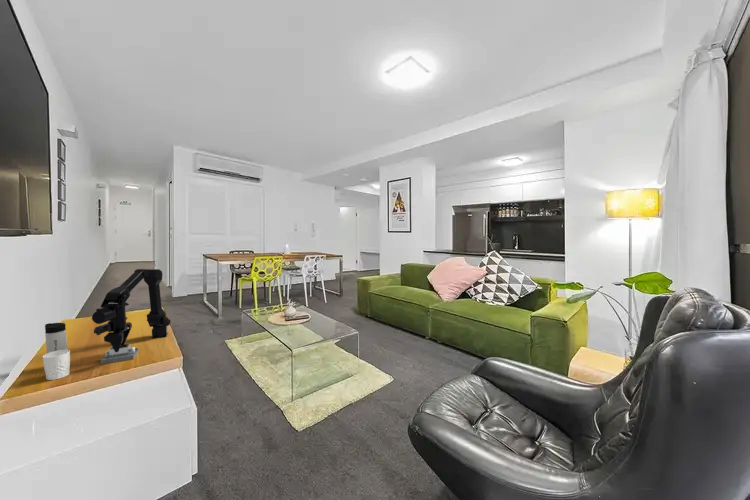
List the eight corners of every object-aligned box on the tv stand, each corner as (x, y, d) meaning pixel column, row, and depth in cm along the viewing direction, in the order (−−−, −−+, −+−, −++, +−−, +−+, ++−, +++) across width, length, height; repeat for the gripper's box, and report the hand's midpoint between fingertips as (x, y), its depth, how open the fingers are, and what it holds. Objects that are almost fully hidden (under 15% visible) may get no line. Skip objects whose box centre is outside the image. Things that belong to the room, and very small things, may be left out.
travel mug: (57, 363, 135) (53, 321, 134) (72, 363, 136) (69, 321, 134) (42, 370, 129) (39, 326, 127) (59, 370, 130) (55, 326, 128)
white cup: (75, 373, 127) (74, 351, 126) (50, 382, 119) (49, 358, 119) (65, 370, 129) (63, 348, 129) (39, 379, 122) (38, 355, 121)
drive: (130, 352, 146) (130, 343, 145) (128, 355, 142) (127, 346, 141) (112, 354, 143) (111, 345, 142) (109, 358, 139) (108, 349, 138)
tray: (138, 351, 149) (138, 343, 149) (133, 359, 141) (133, 350, 140) (107, 356, 144) (107, 347, 143) (100, 364, 135) (100, 355, 135)
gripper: (102, 313, 145) (104, 344, 146) (87, 325, 129) (89, 359, 130) (131, 311, 150) (133, 340, 151) (120, 321, 134) (122, 354, 135)
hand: (119, 348), depth 142 cm, fingers open, 9 cm apart
